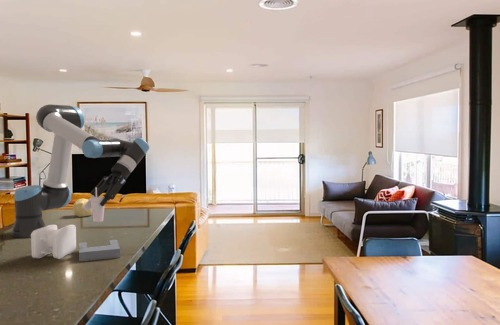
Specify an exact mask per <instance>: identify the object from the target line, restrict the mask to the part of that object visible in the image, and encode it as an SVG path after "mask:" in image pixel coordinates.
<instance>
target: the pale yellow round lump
mask: <svg viewBox="0 0 500 325" xmlns="http://www.w3.org/2000/svg"><path fill="white" fill-rule="evenodd" d="M88 200H89V199H88V198H83V197H82V198H78V199H77V200H76V201H75V202H74V203H73V205H72V212H73V214H74V215H75V216H77V217H78V218H83V217H87V216H93V215H92V208H91V209H90V210H89V211H88V212H87V211H86V210H85V209H83V206H84V205H85V204H86V203H87V201H88Z"/></svg>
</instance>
